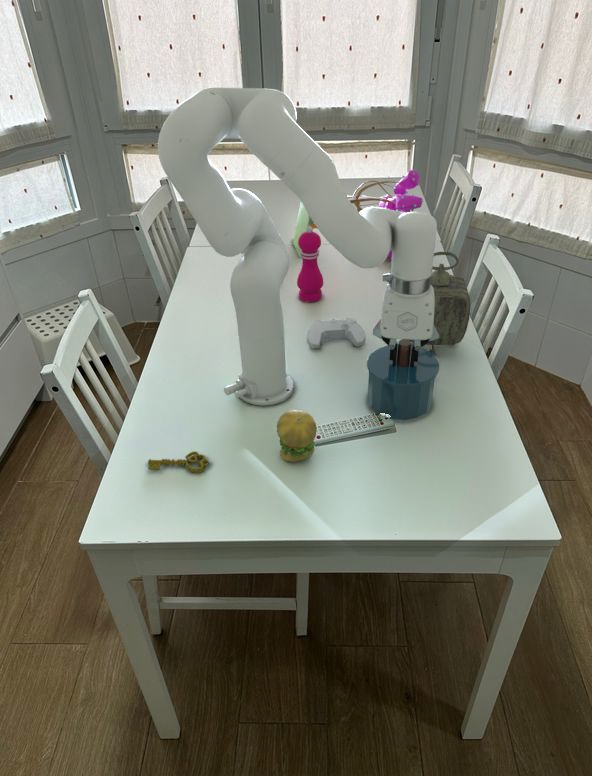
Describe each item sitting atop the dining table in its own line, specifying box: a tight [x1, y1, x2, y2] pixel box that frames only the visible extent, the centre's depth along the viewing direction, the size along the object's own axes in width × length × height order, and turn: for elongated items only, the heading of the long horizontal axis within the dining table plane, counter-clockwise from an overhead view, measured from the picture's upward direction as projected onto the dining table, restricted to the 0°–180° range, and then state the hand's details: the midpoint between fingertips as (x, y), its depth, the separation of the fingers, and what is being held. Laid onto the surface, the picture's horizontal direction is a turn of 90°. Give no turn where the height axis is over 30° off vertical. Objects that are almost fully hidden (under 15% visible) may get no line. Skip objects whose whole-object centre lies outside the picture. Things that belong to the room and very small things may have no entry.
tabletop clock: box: [410, 251, 471, 356], centre depth 143 cm, size 14×9×25 cm, turn 86°
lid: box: [366, 339, 440, 387], centre depth 128 cm, size 15×15×6 cm
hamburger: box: [276, 409, 318, 463], centre depth 119 cm, size 8×7×12 cm
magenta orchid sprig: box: [293, 169, 424, 260], centre depth 191 cm, size 30×28×35 cm
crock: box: [366, 371, 436, 421], centre depth 133 cm, size 14×14×10 cm
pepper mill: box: [296, 226, 324, 303], centre depth 167 cm, size 7×7×20 cm
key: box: [148, 451, 210, 474], centre depth 122 cm, size 12×1×5 cm
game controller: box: [306, 317, 367, 349], centre depth 154 cm, size 14×4×10 cm
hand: (403, 362), depth 130 cm, fingers open, 3 cm apart
